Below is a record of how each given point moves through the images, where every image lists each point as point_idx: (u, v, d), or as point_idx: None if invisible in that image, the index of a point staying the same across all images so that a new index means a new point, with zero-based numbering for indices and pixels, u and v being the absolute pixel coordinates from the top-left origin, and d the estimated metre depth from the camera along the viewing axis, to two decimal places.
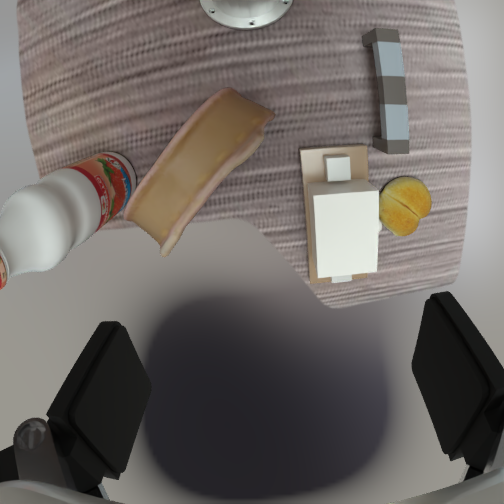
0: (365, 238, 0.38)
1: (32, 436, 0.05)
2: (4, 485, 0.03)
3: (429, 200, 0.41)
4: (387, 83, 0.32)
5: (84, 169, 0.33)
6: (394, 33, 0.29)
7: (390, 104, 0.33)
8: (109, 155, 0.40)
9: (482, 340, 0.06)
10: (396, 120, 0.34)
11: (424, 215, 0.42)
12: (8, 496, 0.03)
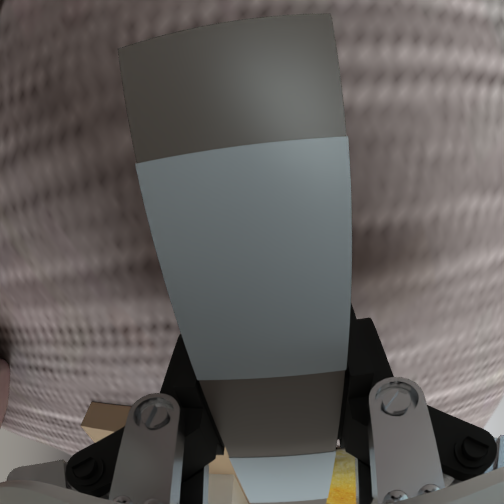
0: None
1: (152, 414, 0.06)
2: (4, 485, 0.03)
3: None
4: (234, 406, 0.07)
5: None
6: (294, 51, 0.04)
7: (254, 457, 0.08)
8: None
9: (356, 327, 0.07)
10: (282, 481, 0.09)
11: None
12: (8, 496, 0.03)
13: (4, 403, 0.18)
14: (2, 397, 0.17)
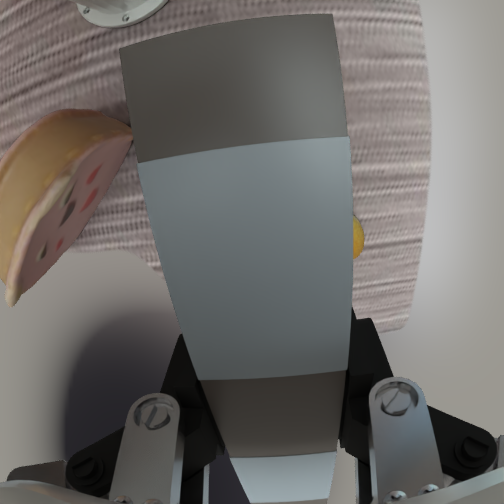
0: None
1: (152, 414, 0.06)
2: (4, 485, 0.03)
3: (359, 239, 0.34)
4: (235, 406, 0.07)
5: None
6: (295, 51, 0.04)
7: (255, 457, 0.08)
8: None
9: (356, 327, 0.07)
10: (282, 481, 0.09)
11: None
12: (8, 496, 0.03)
13: (100, 198, 0.35)
14: (107, 184, 0.33)
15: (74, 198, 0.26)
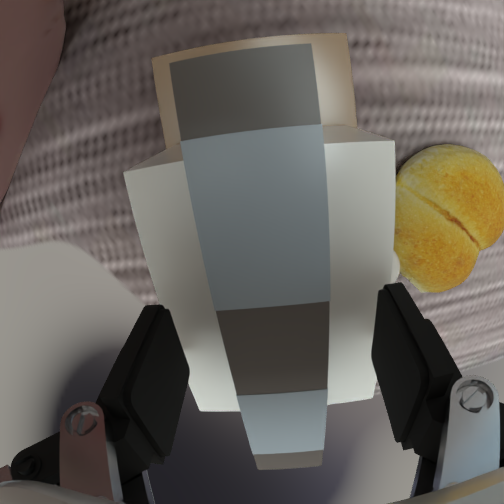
0: (343, 319, 0.11)
1: (82, 421, 0.06)
2: (4, 485, 0.03)
3: None
4: (242, 336, 0.09)
5: None
6: (287, 69, 0.06)
7: (258, 394, 0.10)
8: None
9: (427, 329, 0.07)
10: (281, 425, 0.11)
11: (491, 243, 0.15)
12: (8, 496, 0.03)
13: (18, 144, 0.16)
14: (26, 113, 0.14)
15: None
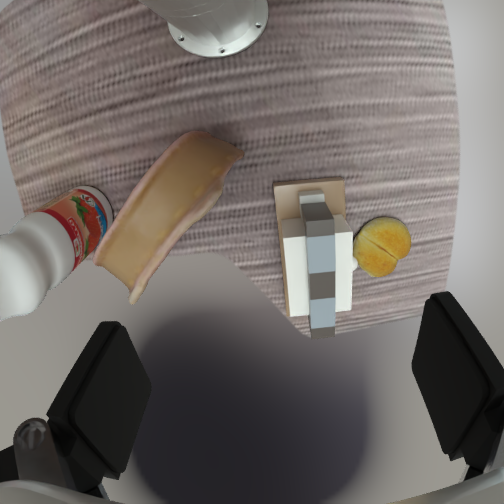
0: (339, 278, 0.38)
1: (32, 436, 0.05)
2: (4, 485, 0.03)
3: (408, 242, 0.41)
4: (314, 280, 0.36)
5: (57, 211, 0.33)
6: (329, 224, 0.33)
7: (316, 299, 0.37)
8: (84, 191, 0.40)
9: (482, 340, 0.06)
10: (322, 312, 0.38)
11: (402, 256, 0.43)
12: (8, 496, 0.03)
13: None
14: None
15: None
